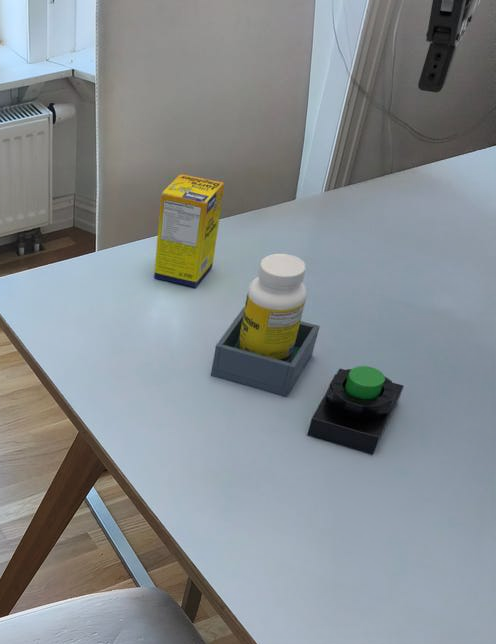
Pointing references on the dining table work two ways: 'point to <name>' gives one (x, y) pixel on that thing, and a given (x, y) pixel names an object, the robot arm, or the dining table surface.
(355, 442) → the control block
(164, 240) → the supplement box
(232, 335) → the basket
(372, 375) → the button
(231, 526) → the dining table surface
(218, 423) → the dining table surface
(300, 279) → the pill bottle
